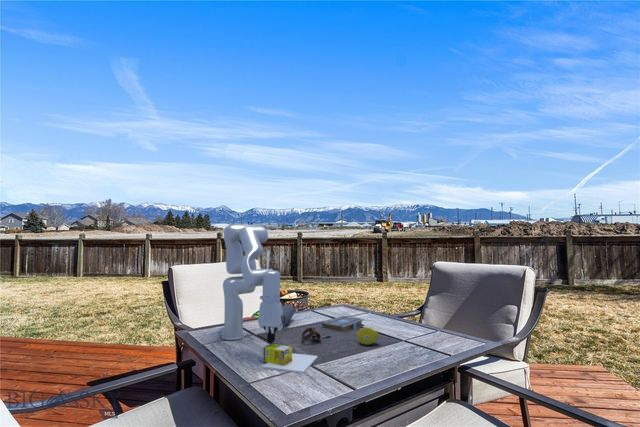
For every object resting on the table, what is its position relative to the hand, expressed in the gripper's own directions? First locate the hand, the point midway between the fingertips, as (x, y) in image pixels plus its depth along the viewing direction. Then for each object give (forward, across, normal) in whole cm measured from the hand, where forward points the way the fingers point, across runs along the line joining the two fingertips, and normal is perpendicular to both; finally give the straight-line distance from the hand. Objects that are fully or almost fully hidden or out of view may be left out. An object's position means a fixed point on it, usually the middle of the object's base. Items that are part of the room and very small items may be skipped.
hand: (271, 342), depth 150 cm
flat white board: (+8, +9, 0) cm, 12 cm away
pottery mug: (+8, +9, +30) cm, 32 cm away
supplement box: (+4, -2, -1) cm, 5 cm away
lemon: (+8, +36, +33) cm, 50 cm away
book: (+8, +17, +60) cm, 63 cm away
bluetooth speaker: (+8, -19, +57) cm, 61 cm away
